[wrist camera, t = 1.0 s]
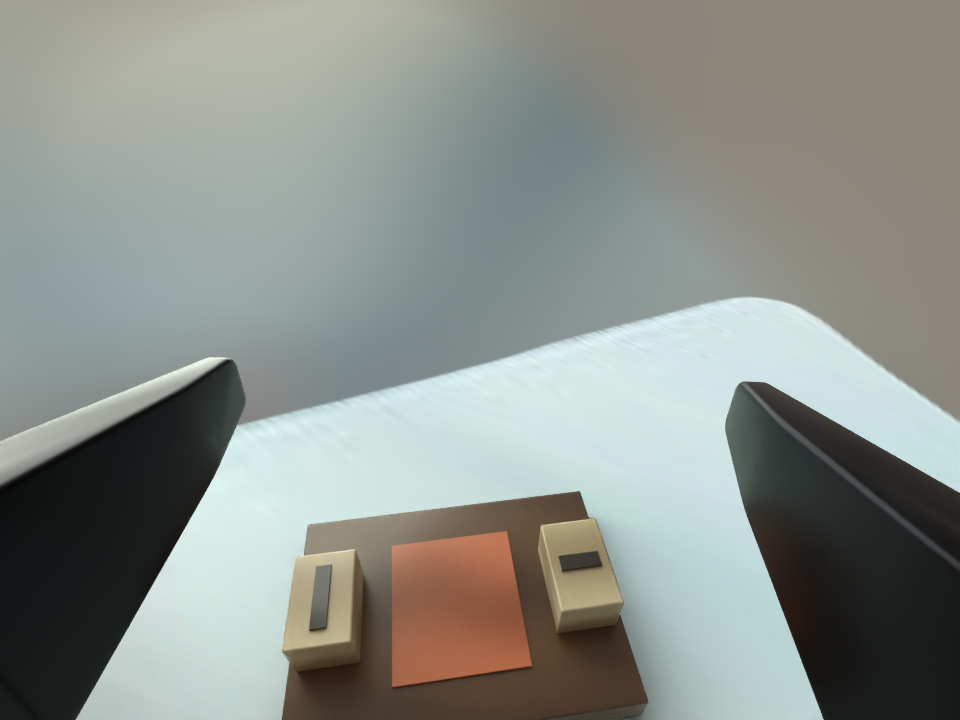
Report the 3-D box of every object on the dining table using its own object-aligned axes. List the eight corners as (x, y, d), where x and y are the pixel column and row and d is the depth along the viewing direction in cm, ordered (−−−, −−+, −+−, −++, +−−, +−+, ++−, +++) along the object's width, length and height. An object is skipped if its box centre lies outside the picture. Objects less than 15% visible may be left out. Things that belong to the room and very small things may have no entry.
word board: (641, 715, 19) (661, 682, 17) (287, 773, 18) (256, 746, 16) (576, 507, 26) (585, 463, 24) (314, 540, 25) (296, 498, 23)
